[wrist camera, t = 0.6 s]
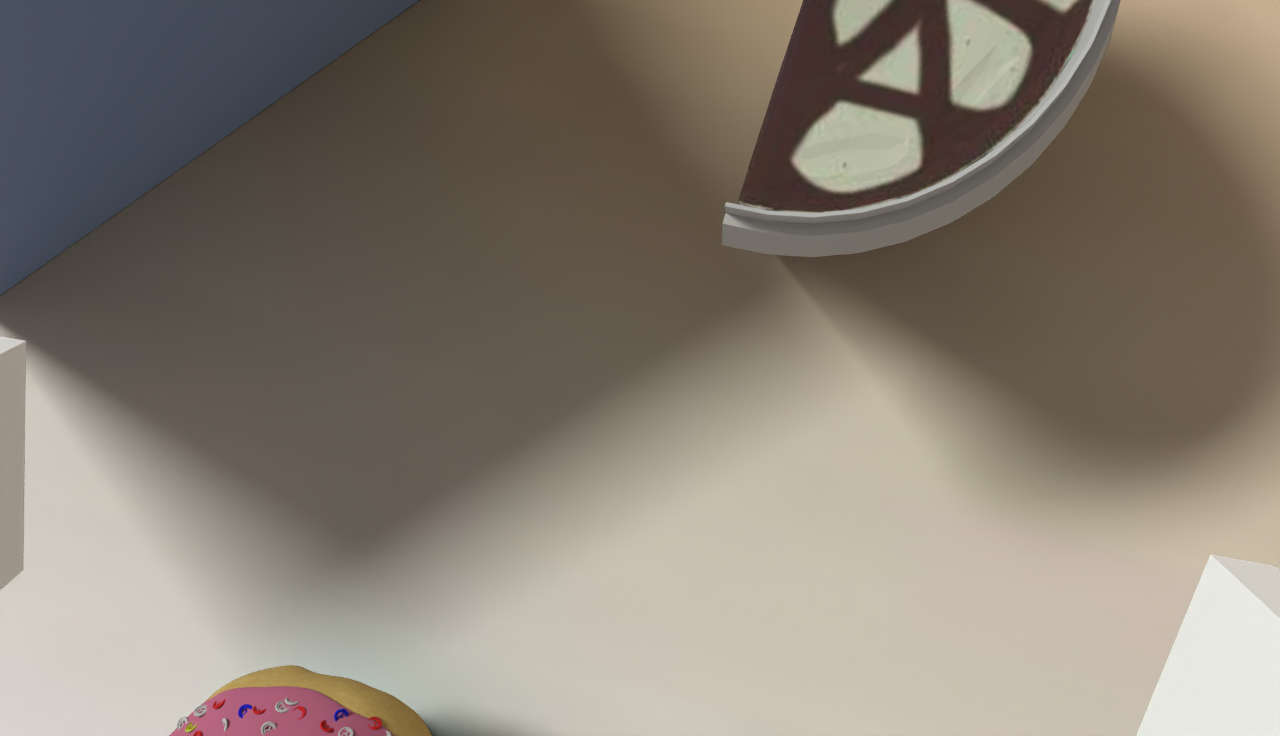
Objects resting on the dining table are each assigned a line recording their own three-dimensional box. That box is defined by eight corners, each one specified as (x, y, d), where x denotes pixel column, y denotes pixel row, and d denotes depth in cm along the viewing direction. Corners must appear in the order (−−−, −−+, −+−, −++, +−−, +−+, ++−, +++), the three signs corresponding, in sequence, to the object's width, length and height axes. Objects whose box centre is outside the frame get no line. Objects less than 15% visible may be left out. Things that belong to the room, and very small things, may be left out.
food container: (948, 343, 29) (1034, 331, 19) (737, 276, 30) (715, 233, 20) (1092, -86, 29) (1257, -327, 19) (874, -143, 29) (920, -401, 20)
